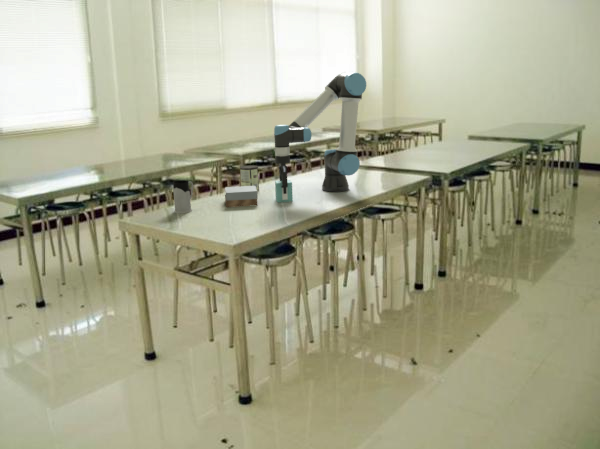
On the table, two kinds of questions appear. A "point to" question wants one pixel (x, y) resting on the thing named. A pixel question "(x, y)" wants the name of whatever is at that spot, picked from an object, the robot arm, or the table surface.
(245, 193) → the grey slab
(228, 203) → the walnut slab
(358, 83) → the robot arm
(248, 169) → the coffee can
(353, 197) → the table surface
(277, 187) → the teal block
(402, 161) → the table surface
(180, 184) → the grey black mug
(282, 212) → the table surface
